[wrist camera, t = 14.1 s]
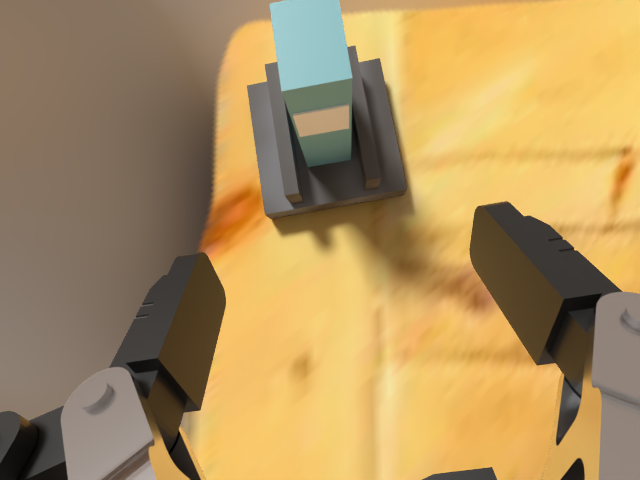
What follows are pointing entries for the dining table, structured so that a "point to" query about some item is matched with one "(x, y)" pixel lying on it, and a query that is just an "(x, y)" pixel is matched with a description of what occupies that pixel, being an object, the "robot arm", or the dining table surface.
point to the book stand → (335, 178)
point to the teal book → (315, 76)
